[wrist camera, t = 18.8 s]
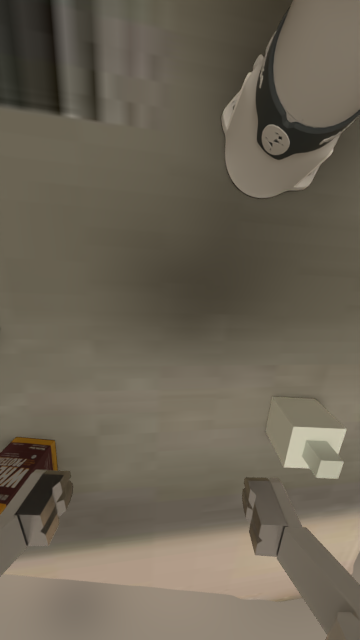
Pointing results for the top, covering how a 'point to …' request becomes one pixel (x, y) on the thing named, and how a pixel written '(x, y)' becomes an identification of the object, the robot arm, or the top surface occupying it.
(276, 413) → the pale sage box
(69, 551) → the top surface
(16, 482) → the supplement box
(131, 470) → the top surface
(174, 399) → the top surface
